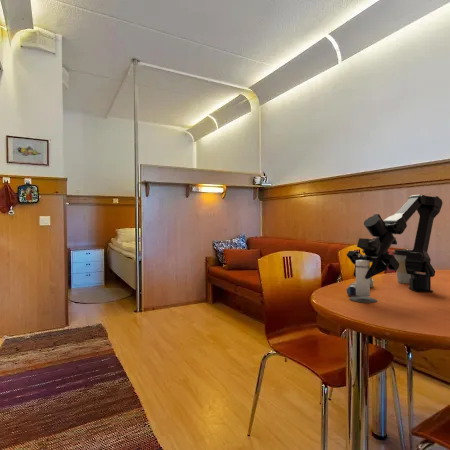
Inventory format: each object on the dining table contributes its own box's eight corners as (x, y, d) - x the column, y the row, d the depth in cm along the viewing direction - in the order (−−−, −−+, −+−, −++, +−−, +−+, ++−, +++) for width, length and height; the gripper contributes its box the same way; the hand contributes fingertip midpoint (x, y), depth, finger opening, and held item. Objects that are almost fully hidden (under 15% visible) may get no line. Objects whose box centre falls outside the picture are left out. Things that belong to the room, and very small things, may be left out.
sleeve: (369, 294, 113) (369, 260, 112) (370, 297, 108) (370, 261, 108) (355, 293, 114) (355, 259, 114) (356, 296, 110) (355, 261, 110)
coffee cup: (421, 284, 138) (421, 250, 138) (400, 284, 138) (399, 251, 138) (408, 280, 147) (408, 249, 147) (389, 280, 148) (388, 249, 147)
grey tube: (344, 285, 119) (362, 268, 138) (345, 302, 120) (362, 283, 139) (358, 287, 116) (374, 269, 135) (359, 304, 116) (375, 284, 136)
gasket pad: (370, 297, 115) (370, 296, 115) (380, 303, 106) (380, 302, 106) (346, 296, 116) (345, 295, 116) (354, 302, 107) (354, 302, 107)
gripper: (349, 230, 121) (328, 259, 117) (393, 230, 104) (371, 265, 100) (364, 249, 125) (344, 278, 120) (408, 252, 108) (387, 287, 103)
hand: (360, 277), depth 111 cm, fingers closed on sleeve, 5 cm apart
